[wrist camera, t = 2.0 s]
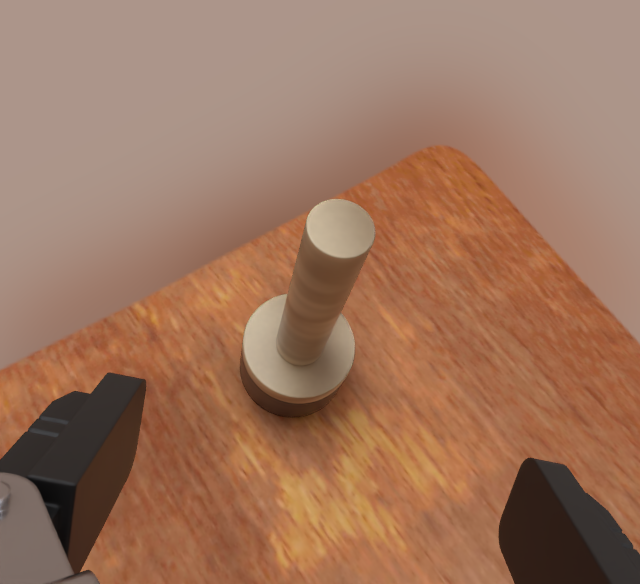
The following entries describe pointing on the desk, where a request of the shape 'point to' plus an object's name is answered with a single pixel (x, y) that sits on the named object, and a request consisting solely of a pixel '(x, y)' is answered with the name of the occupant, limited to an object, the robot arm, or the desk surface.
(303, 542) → the desk surface
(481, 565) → the desk surface
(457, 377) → the desk surface
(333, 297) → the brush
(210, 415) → the desk surface
